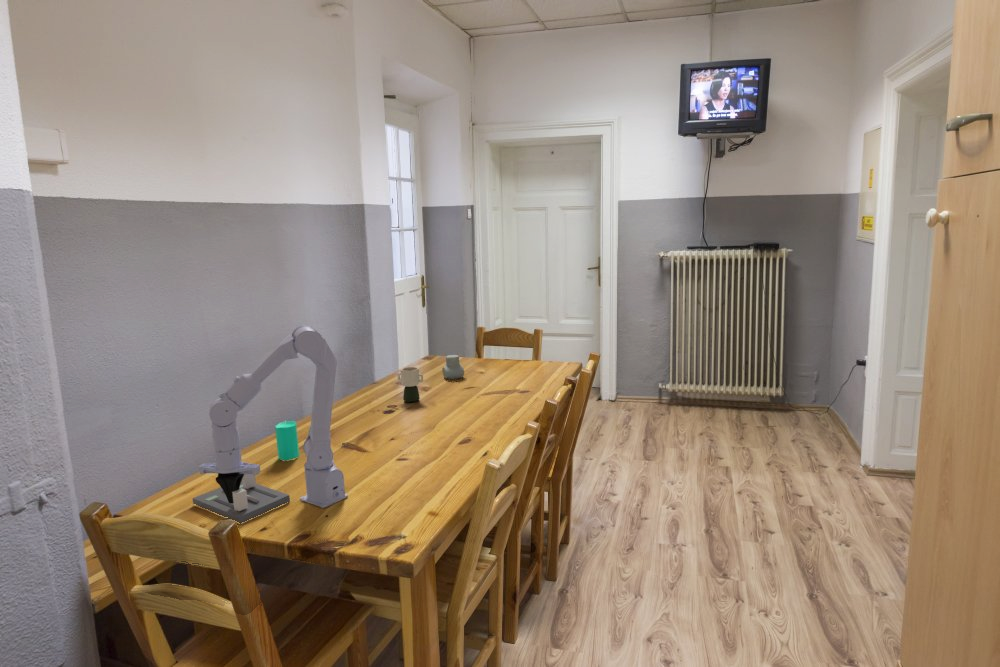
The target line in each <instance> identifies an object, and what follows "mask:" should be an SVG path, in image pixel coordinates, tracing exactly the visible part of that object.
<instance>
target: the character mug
mask: <svg viewBox="0 0 1000 667" xmlns="http://www.w3.org/2000/svg"><path fill="white" fill-rule="evenodd" d="M397 381H398V382H401V386H403V387H404V389H403V401H404V402H406V403H411V402H412V403H413V402H417V401H419V400H420V392H419V387H418V386H419V385H420V383H423V382H424V374H422V373H420V368H419V367H417V366H406V367H402V368H401V369H400V372H398V373H397Z"/></svg>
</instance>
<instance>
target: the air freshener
mask: <svg viewBox="0 0 1000 667" xmlns="http://www.w3.org/2000/svg"><path fill="white" fill-rule="evenodd" d="M445 364H446V365H444V366H443V367H442V369H441V371H442V376H443V378H444V379H447V380H458V379H457V378H459V379H460V378H463V377H464V375H465V369H464V366H463V365H461V364H460V355H459V354H458V355H457V354H448V355H446V356H445Z"/></svg>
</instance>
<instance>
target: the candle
mask: <svg viewBox="0 0 1000 667" xmlns="http://www.w3.org/2000/svg"><path fill="white" fill-rule="evenodd" d="M274 428H275V437H276V440H275V441H276V447H277V459H278V458H279V459H282V460H289V459H293V458H296V457H298V456H299V457H300V449H299V439H298V438H299V437H298V429H297V428H298V427H297V422H296V421H294V420H291V421H290V420H289V421H287V420H286V419H284V421H282V422H279V423H278V424H276V425H274ZM299 457H298V458H299ZM279 459H278V460H279Z"/></svg>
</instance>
